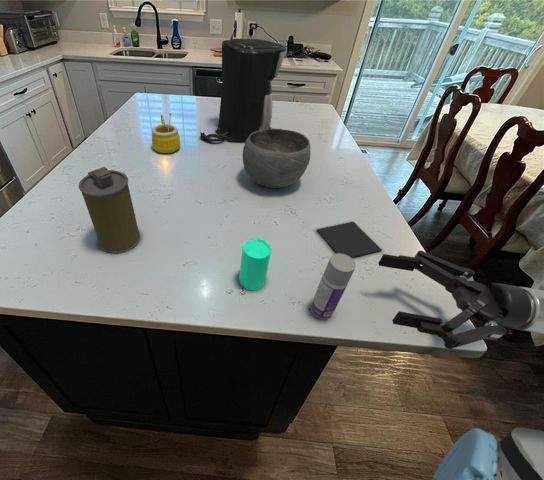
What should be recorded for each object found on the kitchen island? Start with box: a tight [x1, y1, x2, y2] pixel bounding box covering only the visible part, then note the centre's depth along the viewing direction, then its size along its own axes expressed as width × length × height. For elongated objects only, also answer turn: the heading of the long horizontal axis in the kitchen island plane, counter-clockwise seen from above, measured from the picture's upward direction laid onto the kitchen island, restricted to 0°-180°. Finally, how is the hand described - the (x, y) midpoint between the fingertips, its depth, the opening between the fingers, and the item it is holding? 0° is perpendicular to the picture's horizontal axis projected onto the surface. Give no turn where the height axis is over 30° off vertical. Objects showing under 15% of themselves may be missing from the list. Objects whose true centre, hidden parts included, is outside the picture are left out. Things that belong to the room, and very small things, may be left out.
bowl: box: [241, 128, 312, 189], centre depth 95 cm, size 21×21×15 cm
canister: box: [78, 166, 141, 254], centre depth 70 cm, size 11×10×20 cm
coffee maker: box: [199, 38, 287, 143], centre depth 116 cm, size 23×32×34 cm
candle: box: [238, 237, 272, 291], centre depth 64 cm, size 6×6×12 cm
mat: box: [316, 221, 383, 259], centre depth 79 cm, size 12×12×1 cm
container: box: [309, 253, 357, 321], centre depth 58 cm, size 5×5×15 cm
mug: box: [151, 112, 181, 154], centre depth 112 cm, size 13×11×12 cm
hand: (387, 286), depth 54 cm, fingers open, 13 cm apart
